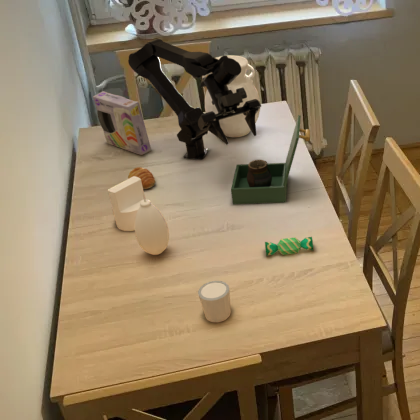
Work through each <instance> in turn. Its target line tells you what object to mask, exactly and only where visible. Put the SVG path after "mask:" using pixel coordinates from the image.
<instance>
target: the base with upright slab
mask: <svg viewBox="0 0 420 420" xmlns="http://www.w3.org/2000/svg"><path fill="white" fill-rule="evenodd" d="M107 192H108V193H107V194H108V196H109V200H110V204H111V209H112V214H113V216H114V220H115V224H116V227H117V229H119V230H120V231H123V232H132V231H133V232H135V218H136V214H137V211H138V209H139V207H140V202H141V201H143V200H144V198H143V193H144V194H145V192H144V189H143V186H142V182H141V179H140V178H138V177H135V176H133V177H131V178H129V179H128V178H127V179H125V180H124V181H122V182H119V183H117V184H116V185H114V186H112V187H110V188H108V189H107Z"/></svg>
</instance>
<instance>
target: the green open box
mask: <svg viewBox="0 0 420 420" xmlns="http://www.w3.org/2000/svg"><path fill="white" fill-rule="evenodd" d="M285 163H286V162H270V163H269V162H267V165H268V169H269V171H270V173H271V175H272V182H271V185H270V187H249V184H248V181H247V174H248V164H249V163H244V164H243V163H241V164H236V166H235V169H234V170H235V171H234V175H233V178H232V183H231V186H230V195H231V201H232V205H251V204H255V205H256V204H276V203H277V204H278V203H286V202H287V194H288V182H289V178H288V179H287V183H286V186H283V182H284V173H285Z"/></svg>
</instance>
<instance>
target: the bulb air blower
mask: <svg viewBox="0 0 420 420" xmlns="http://www.w3.org/2000/svg"><path fill="white" fill-rule="evenodd" d="M143 198H144V200H143V201H141V202H140V207H139V209H138V211H137V214H136V218H135V230H134V235H135V238H136V241H137V243H138V245H139V246H140V248H141V249H142V250H143V251H144V252H146V254H150V255H153V256H158V255H160V254H162V253H163V252H164V251H165V250H166V249H167V248H168V245H169V241H170V229H169V225H168V223H167V220H166V218H165V216H164V215H163V213H162V212H161V210H160V209H159V208H158V207H157V206H156V205H154V204H153V203H152V201H151V200H150V199H147V198H146V195H145V192H144V193H143Z"/></svg>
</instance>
